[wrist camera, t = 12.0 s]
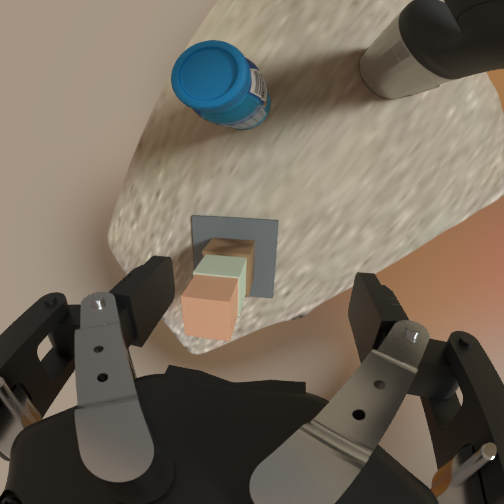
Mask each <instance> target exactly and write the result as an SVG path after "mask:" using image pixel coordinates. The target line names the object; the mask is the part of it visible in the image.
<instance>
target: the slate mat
mask: <svg viewBox="0 0 504 504" xmlns="http://www.w3.org/2000/svg"><path fill="white" fill-rule="evenodd" d="M192 230H193V253H194V270H195V269H196V267H197V266H198V264H199V263H200V262H201V260H202V259H203V256H202V251H203V249H204V248H205V247H206V245H207V244H208V243H209V242H210V240H211V239H212V238H228V239H242V240H255V254H254V279H253V283H252V287H251V291H250V295H249V296H251V297H263V298H273V289H274V276H275V263H276V248H277V234H278V220H267V219H252V218H235V217H217V216H197V215H193V216H192Z"/></svg>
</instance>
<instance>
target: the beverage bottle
mask: <svg viewBox="0 0 504 504" xmlns="http://www.w3.org/2000/svg"><path fill="white" fill-rule="evenodd" d="M171 83H172V88H173V90H174V93H175V94H176V96H177V97H178V98H179V100H181V102H183V104H186V105H187V106H188V107H191V108H193V110H194V111H195V112H196V113H197V114H198V115H199V116H200V117H202V118H203V119H205V120H207V121H210V122H212V123H214V124H217V125H220V126H227V127H232V128H235V129H240V130H245V129H251V128H254V127H256V126H258V125H259V124H261V123H262V122H263V121H264V120H265V118H266V117H267V115H268V113H269V111H270V106H271V101H270V96H269V94H268V92H267V86H266V82H265V80H264V78H263V76H262V74H261V73H260V71H259V69H258V68H257V67H256V65H255V64H254V63H253V62H251V61H250V60H248V59H247V58H245V57H244V55H243V54H242V53H241V52H240V51H239V50H238V49H237V48H236V47H234V46H233V45H231V44H229V43H226V42H223V41H216V40H210V41H204V42H200V43H197V44H195V45H193V46H191V47H190V48H188V49H187V50H185V51H184V52H183V53H182V54H181V55H180V57H179V58H178V59H177V61H176V63H175V65H174V67H173V70H172V75H171Z"/></svg>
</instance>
